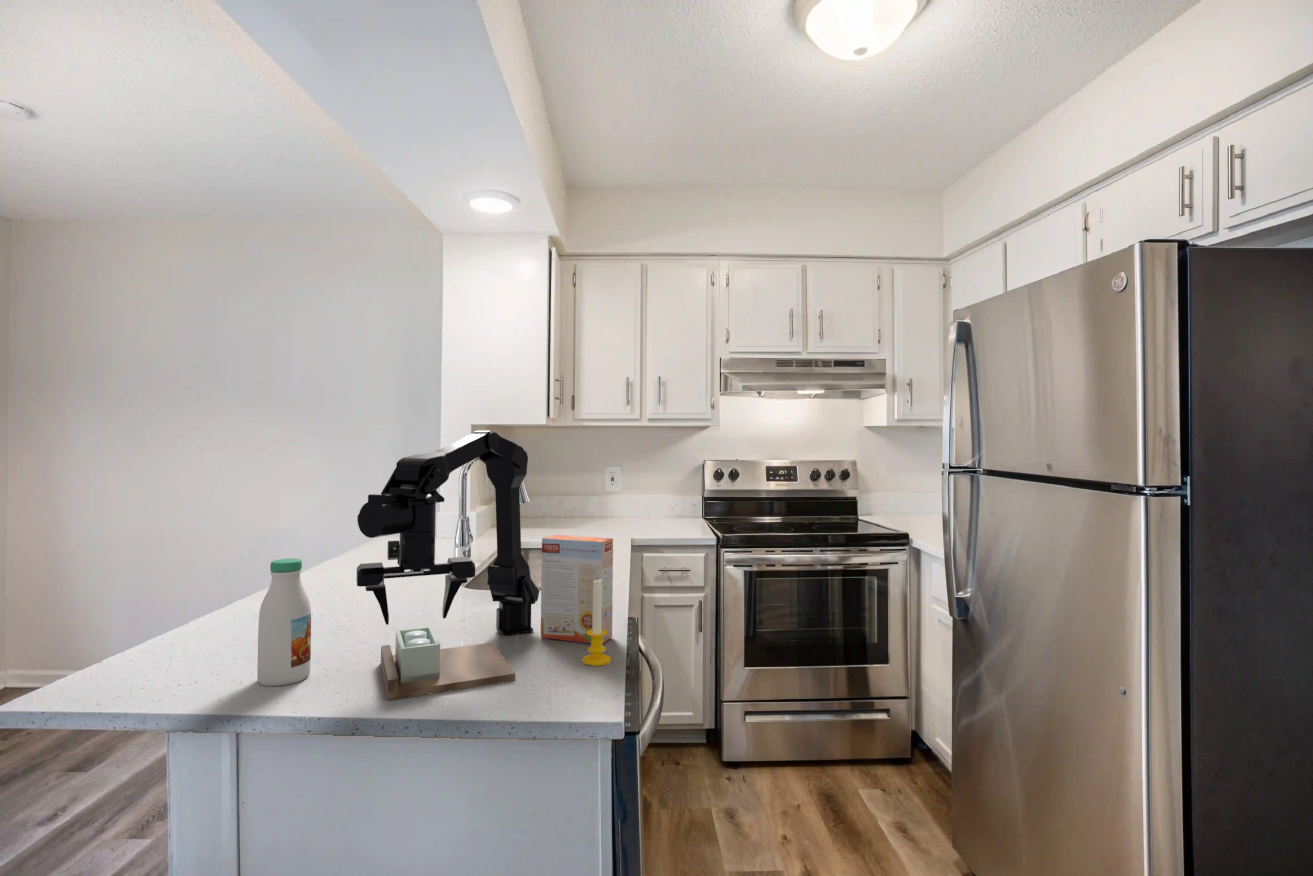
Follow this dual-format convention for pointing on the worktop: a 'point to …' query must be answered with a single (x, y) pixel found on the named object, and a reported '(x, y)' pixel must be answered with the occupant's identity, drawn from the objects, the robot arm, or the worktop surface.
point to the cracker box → (575, 586)
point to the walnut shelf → (449, 671)
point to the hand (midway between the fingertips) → (416, 621)
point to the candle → (597, 630)
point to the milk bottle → (284, 627)
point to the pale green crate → (417, 654)
